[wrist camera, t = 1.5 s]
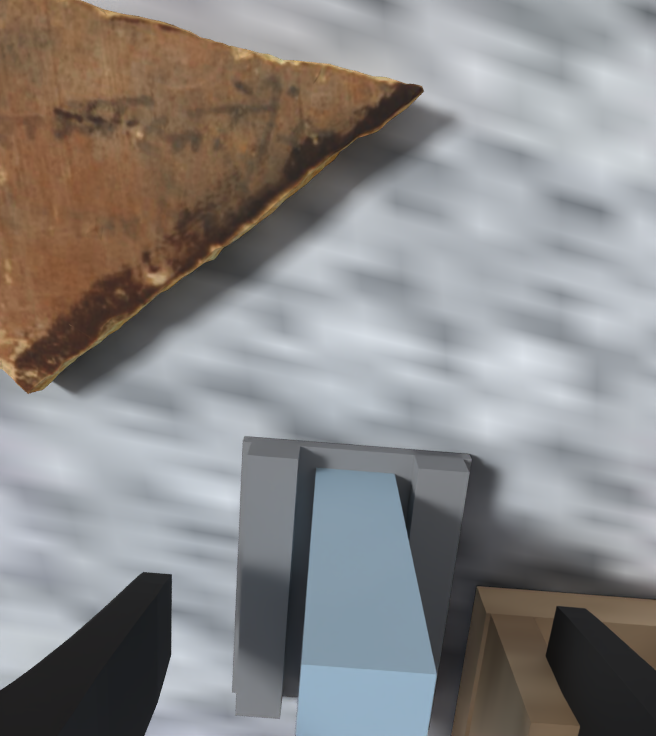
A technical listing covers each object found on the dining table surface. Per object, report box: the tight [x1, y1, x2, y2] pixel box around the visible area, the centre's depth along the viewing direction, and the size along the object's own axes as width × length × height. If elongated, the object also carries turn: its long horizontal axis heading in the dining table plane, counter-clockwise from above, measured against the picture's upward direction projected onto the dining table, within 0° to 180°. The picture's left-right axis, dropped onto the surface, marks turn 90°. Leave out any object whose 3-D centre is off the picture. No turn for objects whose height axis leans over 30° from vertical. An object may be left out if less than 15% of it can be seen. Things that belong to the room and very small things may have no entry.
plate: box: [295, 468, 437, 736], centre depth 12 cm, size 6×2×6 cm, turn 176°
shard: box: [0, 0, 424, 394], centre depth 12 cm, size 11×8×2 cm
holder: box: [232, 437, 472, 730], centre depth 14 cm, size 7×5×1 cm
